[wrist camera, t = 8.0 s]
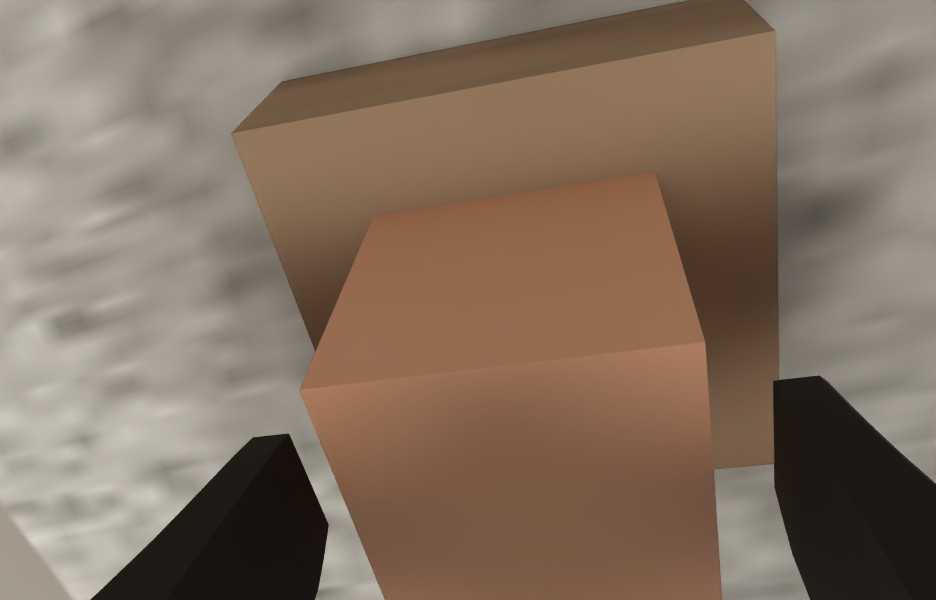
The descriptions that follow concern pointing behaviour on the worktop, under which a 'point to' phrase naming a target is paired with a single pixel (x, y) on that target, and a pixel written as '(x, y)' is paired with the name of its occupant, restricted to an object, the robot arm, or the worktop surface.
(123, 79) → the worktop surface
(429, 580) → the terracotta cube
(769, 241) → the walnut block
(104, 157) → the worktop surface
